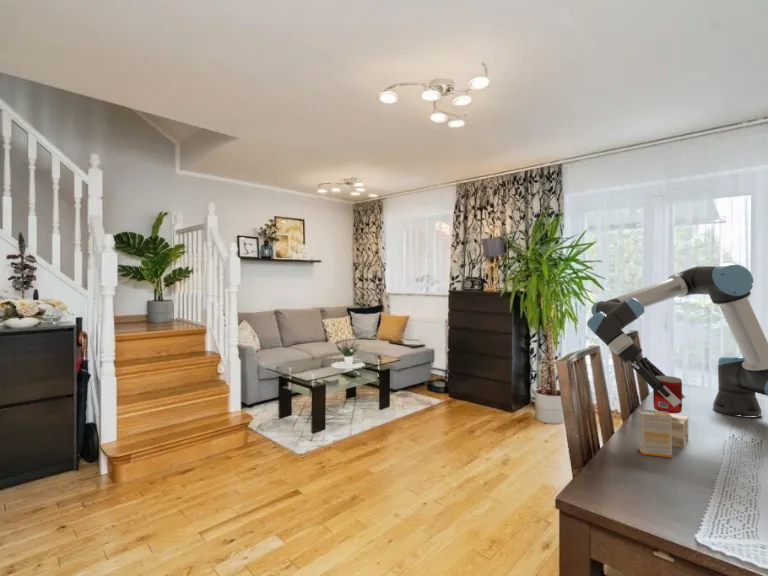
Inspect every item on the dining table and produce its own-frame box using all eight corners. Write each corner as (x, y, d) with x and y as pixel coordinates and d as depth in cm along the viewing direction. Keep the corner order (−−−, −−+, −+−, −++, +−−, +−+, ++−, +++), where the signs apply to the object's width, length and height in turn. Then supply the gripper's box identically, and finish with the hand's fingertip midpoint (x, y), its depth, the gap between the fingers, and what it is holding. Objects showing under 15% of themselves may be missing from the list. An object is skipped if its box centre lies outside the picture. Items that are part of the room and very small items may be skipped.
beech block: (653, 433, 146) (653, 410, 146) (688, 440, 139) (688, 416, 139) (647, 440, 138) (647, 417, 138) (683, 448, 132) (683, 424, 131)
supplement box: (667, 452, 129) (667, 411, 129) (672, 458, 124) (672, 415, 124) (637, 449, 131) (637, 408, 131) (641, 454, 127) (641, 413, 127)
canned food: (686, 414, 134) (686, 381, 134) (659, 413, 136) (659, 380, 136) (674, 407, 142) (674, 376, 141) (649, 406, 143) (649, 375, 143)
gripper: (624, 351, 156) (675, 401, 145) (609, 358, 142) (664, 415, 131) (640, 339, 153) (694, 389, 142) (626, 345, 138) (684, 401, 127)
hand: (679, 401), depth 136 cm, fingers closed on canned food, 8 cm apart
